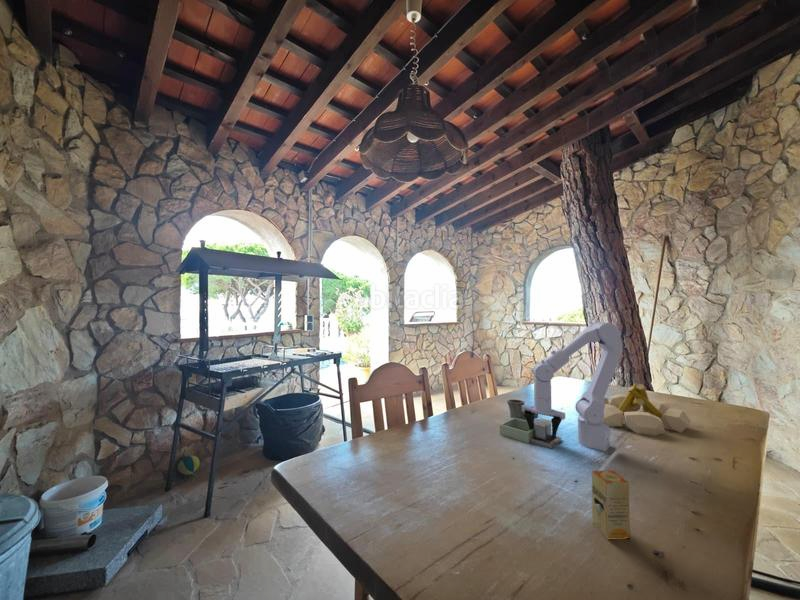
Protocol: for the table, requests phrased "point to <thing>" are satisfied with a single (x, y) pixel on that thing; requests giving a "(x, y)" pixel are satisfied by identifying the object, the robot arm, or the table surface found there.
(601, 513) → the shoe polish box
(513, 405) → the pipe
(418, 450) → the table surface
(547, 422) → the grey plug block
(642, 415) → the campfire
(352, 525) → the table surface
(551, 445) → the socket block
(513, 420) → the bin
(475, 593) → the table surface
